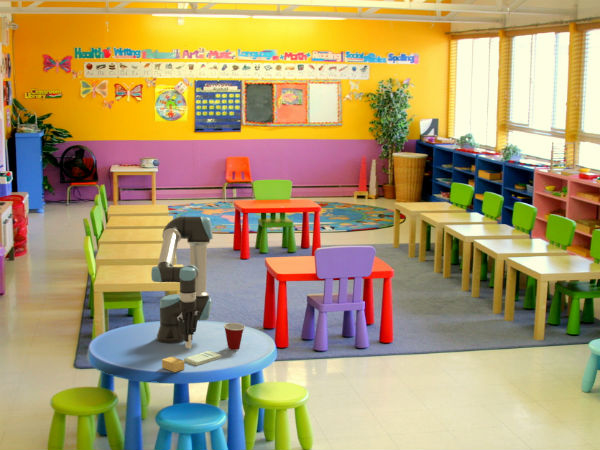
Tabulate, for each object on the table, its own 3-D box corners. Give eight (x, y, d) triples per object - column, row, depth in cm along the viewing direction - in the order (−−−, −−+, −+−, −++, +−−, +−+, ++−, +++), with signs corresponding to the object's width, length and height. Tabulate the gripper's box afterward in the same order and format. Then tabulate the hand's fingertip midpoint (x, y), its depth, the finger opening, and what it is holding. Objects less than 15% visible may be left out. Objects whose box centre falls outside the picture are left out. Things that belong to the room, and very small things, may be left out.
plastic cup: (241, 352, 407) (241, 329, 405) (221, 350, 409) (221, 327, 407) (247, 345, 417) (247, 323, 415) (227, 344, 420) (227, 321, 417)
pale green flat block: (184, 361, 392) (184, 358, 392) (208, 353, 404) (208, 350, 404) (196, 365, 387) (196, 362, 386) (221, 357, 398) (221, 354, 398)
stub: (162, 367, 382) (162, 359, 382) (172, 364, 387) (172, 356, 386) (174, 372, 377) (174, 363, 376) (184, 368, 381) (184, 360, 380)
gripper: (182, 304, 376) (183, 352, 381) (203, 298, 386) (204, 345, 390) (172, 301, 381) (172, 348, 386) (193, 295, 391) (193, 342, 395)
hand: (188, 347), depth 388 cm, fingers closed
